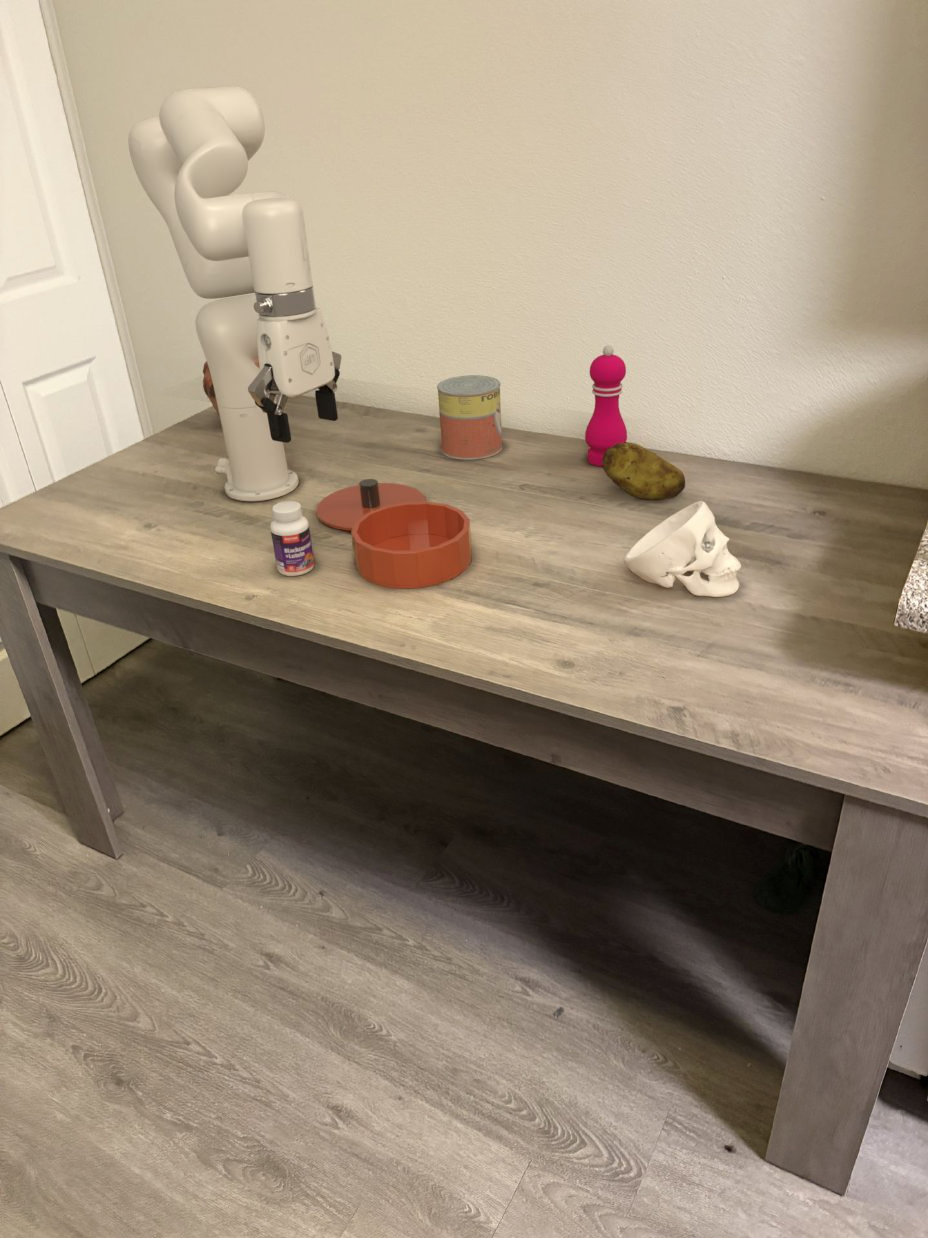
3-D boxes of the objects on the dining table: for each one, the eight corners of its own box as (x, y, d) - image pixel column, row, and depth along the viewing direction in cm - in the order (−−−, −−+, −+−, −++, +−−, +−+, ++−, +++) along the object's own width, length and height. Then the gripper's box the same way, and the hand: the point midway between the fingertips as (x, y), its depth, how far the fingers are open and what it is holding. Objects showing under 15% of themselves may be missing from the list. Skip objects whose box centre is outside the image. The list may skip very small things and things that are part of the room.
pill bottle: (289, 581, 129) (278, 518, 124) (270, 568, 133) (259, 506, 128) (322, 568, 132) (312, 506, 127) (303, 556, 136) (293, 495, 131)
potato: (660, 512, 142) (663, 464, 138) (593, 492, 150) (594, 446, 146) (690, 495, 147) (693, 447, 143) (623, 476, 155) (625, 431, 150)
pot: (334, 576, 130) (329, 541, 127) (392, 528, 142) (388, 495, 139) (439, 597, 123) (436, 560, 120) (489, 544, 136) (488, 510, 133)
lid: (295, 525, 145) (290, 496, 143) (353, 483, 159) (350, 456, 156) (392, 541, 138) (389, 512, 136) (444, 496, 152) (442, 468, 149)
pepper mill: (629, 454, 163) (634, 340, 153) (621, 469, 157) (626, 352, 147) (589, 451, 165) (591, 338, 155) (580, 466, 159) (581, 350, 149)
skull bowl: (745, 602, 115) (698, 519, 112) (650, 634, 124) (605, 558, 121) (762, 564, 123) (719, 486, 120) (672, 597, 131) (630, 524, 129)
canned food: (503, 458, 165) (500, 392, 158) (440, 461, 165) (435, 395, 159) (501, 436, 174) (499, 373, 168) (442, 439, 175) (438, 376, 168)
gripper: (260, 320, 111) (282, 454, 120) (350, 291, 123) (365, 414, 132) (216, 315, 115) (241, 445, 124) (308, 287, 127) (325, 408, 136)
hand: (305, 429), depth 128 cm, fingers open, 9 cm apart
